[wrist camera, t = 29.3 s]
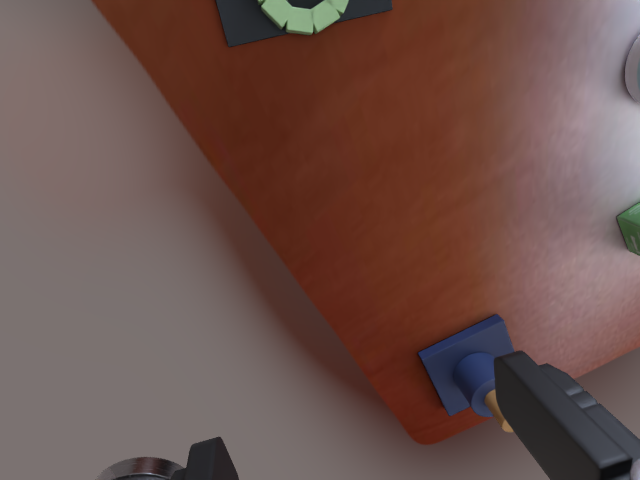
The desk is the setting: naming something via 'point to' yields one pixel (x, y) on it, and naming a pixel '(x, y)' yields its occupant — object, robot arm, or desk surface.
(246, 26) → the mat
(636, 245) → the ink box
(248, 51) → the desk surface
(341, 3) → the ring
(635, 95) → the pill bottle
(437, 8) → the desk surface
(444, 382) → the stand
